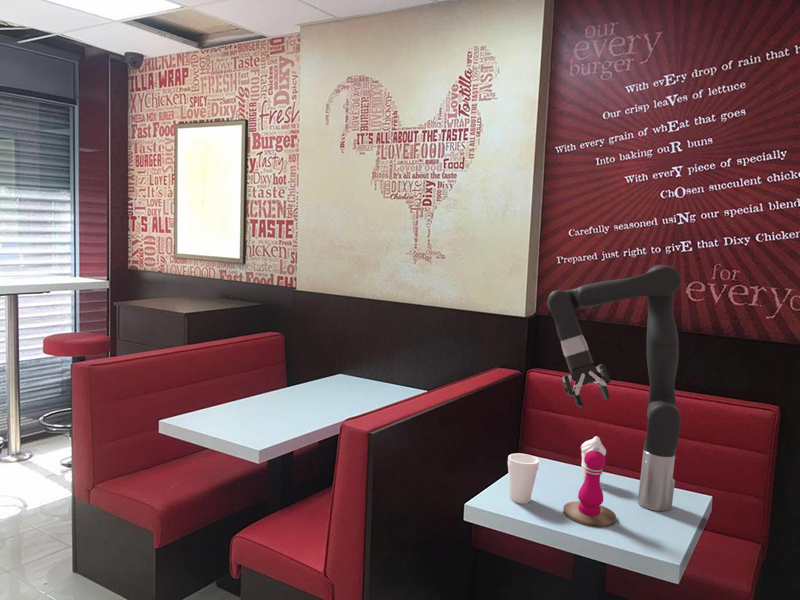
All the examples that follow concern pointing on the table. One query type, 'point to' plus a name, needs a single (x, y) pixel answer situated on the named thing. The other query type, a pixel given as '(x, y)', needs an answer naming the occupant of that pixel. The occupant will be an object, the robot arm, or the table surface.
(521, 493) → the foam cup
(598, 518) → the walnut board
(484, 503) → the table surface
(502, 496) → the table surface
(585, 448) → the soft serve ice cream cone
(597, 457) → the pepper mill
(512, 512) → the table surface
